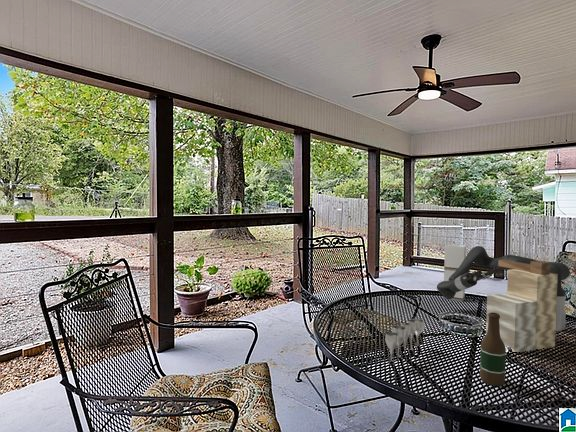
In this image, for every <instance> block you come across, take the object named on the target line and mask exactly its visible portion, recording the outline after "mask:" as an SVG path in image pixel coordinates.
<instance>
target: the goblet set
mask: <svg viewBox="0 0 576 432" xmlns="http://www.w3.org/2000/svg"><path fill="white" fill-rule="evenodd" d="M425 327H426V326H425V321H424V319H421V318H415V317H414V318H412V319H408V320H407V322H404V321H403V322H401V324H400V325H399V324H398V325H397V324H395V325H393V326H392V329H391V331H388V332H386V333H385V336H384V337H385V343H386V346H387V347H388V349H389V352H390V362H391V361H392V362H393V360H392V358H393V352H394V350H395V349H396V347H397V357H399V358H400V347H401V344H403V343H404V349H406V345H407V341H408V339H409V337H410V350H413V348H412V346H413V337H414V334H415V336H416V345H417V346H419V345H418V344H419V335H420V334H421V333H422V332H424V330H425Z"/></svg>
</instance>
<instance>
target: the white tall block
mask: <svg viewBox="0 0 576 432" xmlns="http://www.w3.org/2000/svg"><path fill="white" fill-rule="evenodd" d="M466 256H467V245H463V244H446V245H444V264H443V265H444V266H443V268H444V269H443V271H444V273H443V281H449V277H450V276H451V275H452V274H453V273H454V272H455V271H456V270H457V269H458V268H459V266H460V265H461V264H462V262H463V260H464V259H465V257H466ZM465 291H466V289H464V290H462V291H459V292H456V294H455V296H454V297H453V298H452V299H446V298H445V297H444V296H443V297H442V298H443V299H444V300H449V301H457V302H462V303H463V302H464V300H465V298H466V295H465V294H466V293H465Z"/></svg>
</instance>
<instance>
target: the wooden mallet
mask: <svg viewBox="0 0 576 432" xmlns="http://www.w3.org/2000/svg"><path fill="white" fill-rule="evenodd" d="M542 261H543V260H538V261H531V263H530V264H525V263H519V262H514V261H508V260H498V266H501V267H506V268H511V269H516V270H521V271H526V272H530V273H534V274H540V275H546V274H550V263H548V262H549V261H546V262H542Z"/></svg>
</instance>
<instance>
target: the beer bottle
mask: <svg viewBox="0 0 576 432" xmlns="http://www.w3.org/2000/svg"><path fill="white" fill-rule="evenodd" d="M488 316H489V320H488V330H487V334H486V333H485V335H484V337H483V338H482V340H481V343H480V351H479V352H480V354H479V355H480V360H479V378H480V380H481V381H482V382H483V383H485V384H486V385H489V386H495V387H501V386H503V385H505V381H506V363H507V362H506V361H507V359H506V358H507V350H506V348H505V345H504V343H503V341H502V339H501V337H500V326H499V318H500V315H499V314H498V313H493V312H491V313H489V314H488Z"/></svg>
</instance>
